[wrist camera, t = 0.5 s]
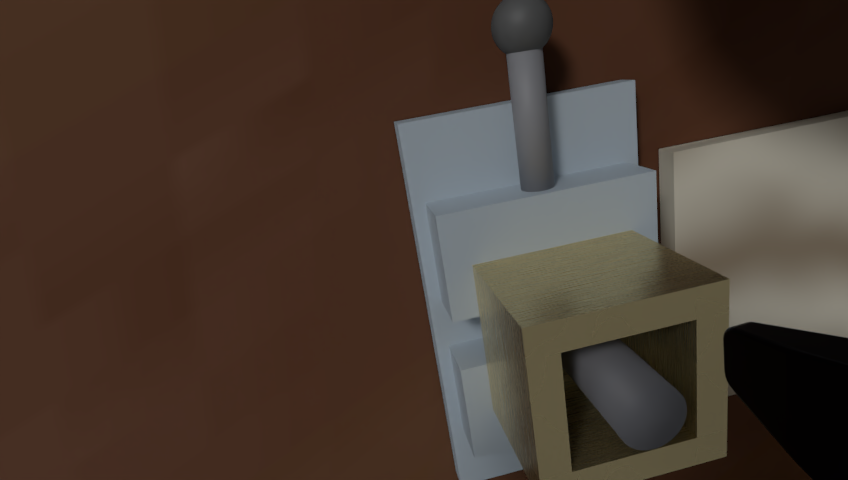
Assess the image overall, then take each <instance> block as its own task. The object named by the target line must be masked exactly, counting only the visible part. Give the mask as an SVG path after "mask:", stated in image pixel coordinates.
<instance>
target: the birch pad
mask: <svg viewBox="0 0 848 480" xmlns="http://www.w3.org/2000/svg"><path fill="white" fill-rule="evenodd" d="M659 183H660V222H661V245H663V246H665V247H667V248H669V249H671V250H673V251H675V252H677V253H679V254H681V255H683V256H685V257H687V258H689V259H691V260H693V261H695V262H697V263H699V264H701V265H703V266H705V267H707V268H709V269H711V270H713V271H715V272H717V273H719V274H721V275H723V276H725V277H727V278H729V279H730V294H729V327H732V326H736V325H739V324H743V323H746V322H757V323H763V324H769V325H775V326H781V327H786V328H792V329H798V330H804V331H810V332H816V333H822V334H828V335H834V336H840V337H846V338H848V111H844V112H839V113H834V114H829V115H824V116H819V117H814V118H809V119H804V120H799V121H794V122H790V123H785V124H780V125H775V126H770V127H765V128H760V129H755V130H750V131H745V132H740V133H735V134H730V135H726V136H721V137H716V138H711V139H706V140H701V141H696V142H691V143H686V144H681V145H676V146H671V147H666V148H661V149H659ZM735 394H736V393H735V392H734V391H733V390H732V388H731V387H730V385H729V384H728V396H731V395H735Z"/></svg>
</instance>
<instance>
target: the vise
mask: <svg viewBox="0 0 848 480" xmlns="http://www.w3.org/2000/svg"><path fill="white" fill-rule="evenodd" d="M552 28H553V17H552V13H551V10H550V8H549V6H548V5H547V3H546V2H545V1H544V0H503V1H502V2H501V3H500V4H499V5H498V7H497V8H496V10H495V12H494V14H493V17H492V22H491V32H492V37H493V39H494V42H495V43H496V45H497V46H498V48H499V49H500V50H501V51H503V52H504V53H505V54H506V57H507V66H508V76H509V85H510V94H511V100H509V101H504V102H498V103H493V104H488V105H482V106H477V107H471V108H466V109H461V110H455V111H450V112H444V113H439V114H434V115H428V116H423V117H417V118H412V119H407V120H401V121H396V122H394V125H395V131H396V136H397V142H398V148H399V153H400V159H401V164H402V170H403V176H404V181H405V187H406V193H407V198H408V204H409V209H410V215H411V221H412V226H413V232H414V238H415V243H416V249H417V254H418V260H419V266H420V271H421V277H422V283H423V288H424V294H425V299H426V305H427V311H428V316H429V322H430V328H431V333H432V339H433V344H434V350H435V356H436V361H437V367H438V373H439V378H440V384H441V389H442V395H443V401H444V406H445V412H446V418H447V423H448V429H449V434H450V440H451V446H452V451H453V457H454V462H455V468H456V472H457V475H458V478H459V480H485V479H489V478H493V477H497V476H500V475H504V474H508V473H511V472H515V471H519V470H523V468H522V466H521V464H520V462H519V460H518V458H517V456H516V454H515V452H514V450H513V448H512V446H511V444H510V442H509V440H508V438H507V436H506V434H505V432H504V430H503V428H502V426H501V424H500V422H499V420H498V418H497V416H496V414H495V412H494V410H493V405H492V398H491V392H490V385H489V378H488V371H487V364H486V357H485V350H484V343H483V336H482V329H481V322H480V315H479V309H478V302H477V295H476V288H475V281H474V274H473V267H472V265H475V264H480V263H485V262H489V261H494V260H498V259H503V258H507V257H512V256H516V255H521V254H525V253H530V252H534V251H539V250H543V249H548V248H553V247H557V246H562V245H566V244H571V243H575V242H580V241H584V240H589V239H593V238H598V237H602V236H607V235H611V234H616V233H621V232H625V231H630V230H633V231H635V232H637V233H639V234H641V235H643V236H645V237H647V238H649V239H651V240H653V241H655V242H657V243H658V226H657V190H656V170H652V169H649V168H645V167H642V166H638V146H637V119H636V93H635V80H617V81H612V82H606V83H601V84H596V85H590V86H585V87H579V88H574V89H569V90H563V91H558V92H552V93H547V92H546V81H545V70H544V58H543V47H544V46H545V44H546V43H547V42H548V40H549V38H550V36H551V33H552ZM561 359H562V369H564V370H565V371H566V372H567V373H568V375H569V376H570V377H571V378H572V380H573V381H574V382H575V383H576V384H577V386H578V387H579V388H580V389H581V391H582V392H583V393H584V394H585V395H586V397H587V398H588V399H589V400H590V402H591V403H592V404H593V405H594V406H595V408H596V409H597V410H598V411H599V413H600V414H601V415H602V416H603V417H604V419H605V420H606V421H607V422H608V424H609V425H610V426H611V427H612V428H613V430H614V431H615V432H616V433H617V435H618V436H619V437H620V438H621V439H622V441H623V442H624V443H625V444H626V445H627V446H629V447H631V448H633V449H636V450H652V449H656V448H659V447H661V446H663V445H665V444H666V443H668V442H669V441H671V440H672V439H673V438H674V437H675V436H676V435H677V434H678V433H679V431H680V430H681V428H682V427H683V424H684V422H685V419H686V415H687V405H686V401H685V399H684V397H683V395H682V394H681V393H680V392H679V391H678V390H677V389H675V388H674V387H673V386H672V385H671V384H670V383H669V382H668V381H666V380H665V379H664V378H663V377H662V376H661V375H660V374H659V373H657V372H656V371H655V370H654V369H653V368H652V367H651V366H650V365H648V364H647V363H646V362H645V361H644V360H643V359H642V358H641V357H639V356H638V355H637V354H636V353H635V352H634V351H633V350H632V349H630V348H629V347H628V346H627V345H626V344H625V343H624V342H623V341H621V340H620V339H615V340H611V341H607V342H603V343H599V344H595V345H591V346H587V347H583V348H579V349H575V350H571V351H566V352H562V353H561Z"/></svg>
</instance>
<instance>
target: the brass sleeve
mask: <svg viewBox="0 0 848 480" xmlns="http://www.w3.org/2000/svg"><path fill="white" fill-rule="evenodd" d="M472 267H473V274H474V281H475V288H476V295H477V302H478V309H479V315H480V322H481V329H482V336H483V343H484V350H485V357H486V364H487V371H488V378H489V385H490V392H491V398H492V405H493V410H494V412H495V414H496V416H497V418H498V420H499V422H500V424H501V426H502V428H503V430H504V432H505V434H506V436H507V438H508V440H509V442H510V444H511V446H512V448H513V450H514V452H515V454H516V456H517V458H518V460H519V462H520V464H521V466H522V468H523V470H524V471H525V473H526V475H527V477H528V479H529V480H644V479H648V478H651V477H655V476H658V475H662V474H665V473H669V472H673V471H676V470H680V469H683V468H687V467H691V466H694V465H698V464H701V463H705V462H708V461H712V460H716V459H719V458H723V457H726V456H727V408H728V382H727V380H726V377H725V372H724V347H723V335H724V332H725V330H726V329H728V328H729V294H730V279H729V278H727V277H725V276H723V275H721V274H719V273H717V272H715V271H713V270H711V269H709V268H707V267H705V266H703V265H701V264H699V263H697V262H695V261H693V260H691V259H689V258H687V257H685V256H683V255H681V254H679V253H677V252H675V251H673V250H671V249H669V248H667V247H665V246H663V245H661V244H659V243H657V242H655V241H653V240H651V239H649V238H647V237H645V236H643V235H641V234H639V233H637V232H635V231H633V230H630V231H625V232H621V233H616V234H611V235H607V236H602V237H598V238H593V239H589V240H584V241H580V242H575V243H571V244H566V245H562V246H557V247H553V248H548V249H543V250H539V251H534V252H530V253H525V254H521V255H516V256H512V257H507V258H503V259H498V260H494V261H489V262H485V263H480V264H475V265H472ZM615 339H620V340H621V341H623V342H624V343H625V344H626V345H627V346H628V347H629V348H630V349H632V350H633V351H634V352H635V353H636V354H637V355H638V356H639V357H641V358H642V359H643V360H644V361H645V362H646V363H647V364H648V365H650V366H651V367H652V368H653V369H654V370H655V371H656V372H657V373H659V374H660V375H661V376H662V377H663V378H664V379H665V380H666V381H668V382H669V383H670V384H671V385H672V386H673V387H674V388H675V389H677V390H678V391H679V392H680V393H681V394H682V395H683V397H684V399H685V401H686V405H687V415H686V419H685V422H684V424H683V427H682V428H681V430H680V431H679V433H678V434H677V435H676V436H675V437H674V438H673V439H672V440H671V441H669V442H668V443H666V444H665V445H663V446H661V447H659V448H656V449H652V450H636V449H633V448H631V447H629V446H627V445H626V444H625V443H624V442H623V441H622V439H621V438H620V437H619V436H618V435H617V433H616V432H615V431H614V430H613V428H612V427H611V426H610V425H609V424H608V422H607V421H606V420H605V419H604V417H603V416H602V415H601V414H600V413H599V411H598V410H597V409H596V408H595V406H594V405H593V404H592V403H591V402H590V400H589V399H588V398H587V397H586V395H585V394H584V393H583V392H582V391H581V389H580V388H579V387H578V386H577V384H576V383H575V382H574V381H573V380H572V378H571V377H570V376H569V375H568V373H567V372H566V371H565V370H564V369H562V359H561V353H562V352H566V351H571V350H575V349H579V348H583V347H587V346H591V345H595V344H599V343H603V342H607V341H611V340H615Z"/></svg>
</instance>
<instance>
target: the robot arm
mask: <svg viewBox="0 0 848 480" xmlns="http://www.w3.org/2000/svg"><path fill="white" fill-rule="evenodd" d="M723 347H724V372H725V377H726V380H727V382H728V384H729V385H730V387H731V388H732V390H733V391H734V392H735V393H736V394H737V395H738V396H739V398H740V399H741V400H742V401H743V402H744V403H745V405H746V406H747V407H748V408H749V409H750V410H751V412H752V413H753V414H754V415H755V416H756V417H757V418H758V420H759V421H760V422H761V423H762V424H763V425H764V427H765V428H766V429H767V430H768V431H769V432H770V433H771V435H772V436H773V437H774V438H775V439H776V440H777V442H778V443H779V444H780V445H781V446H782V447H783V448H784V450H785V451H786V452H787V453H788V454H789V455H790V456H791V457H792V458H793V460H794V461H795V462H796V463H797V464H798V465H799V466H800V467H801V468H802V469H803V470H804V471H805V472H806V473H807V474H808V475H809V476H810V477H811V478H812V479H813V480H848V338H846V337H840V336H834V335H828V334H822V333H816V332H810V331H804V330H798V329H792V328H786V327H781V326H775V325H769V324H763V323H757V322H746V323H743V324H739V325H736V326H732V327H729V328H728V329H726V330H725V332H724V335H723Z"/></svg>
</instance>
